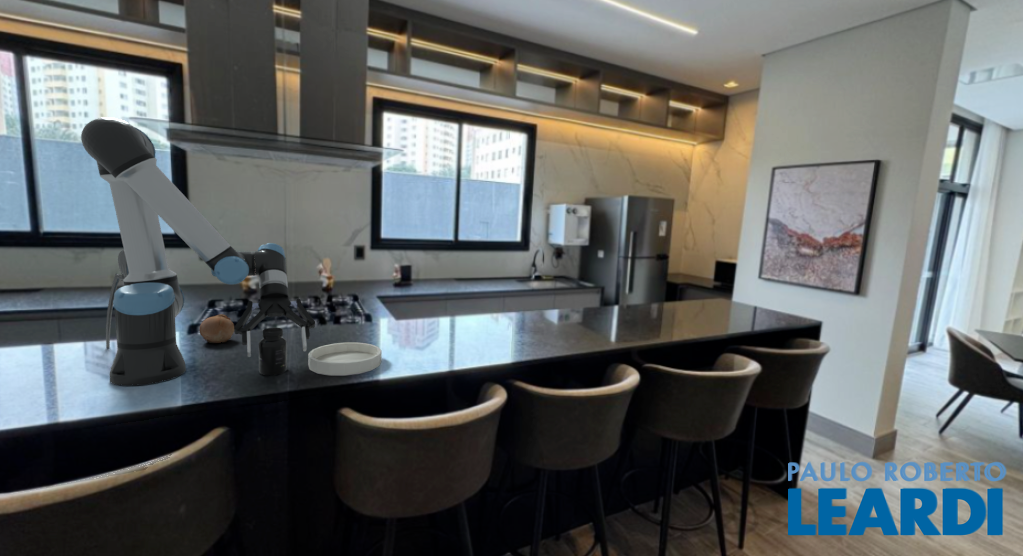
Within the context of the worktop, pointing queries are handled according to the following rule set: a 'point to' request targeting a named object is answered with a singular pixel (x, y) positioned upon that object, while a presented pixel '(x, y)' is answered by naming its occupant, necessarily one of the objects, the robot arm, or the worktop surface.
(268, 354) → the supplement bottle
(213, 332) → the onion
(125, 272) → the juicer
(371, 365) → the round tray
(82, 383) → the worktop surface
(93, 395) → the worktop surface
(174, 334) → the robot arm
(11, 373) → the worktop surface
